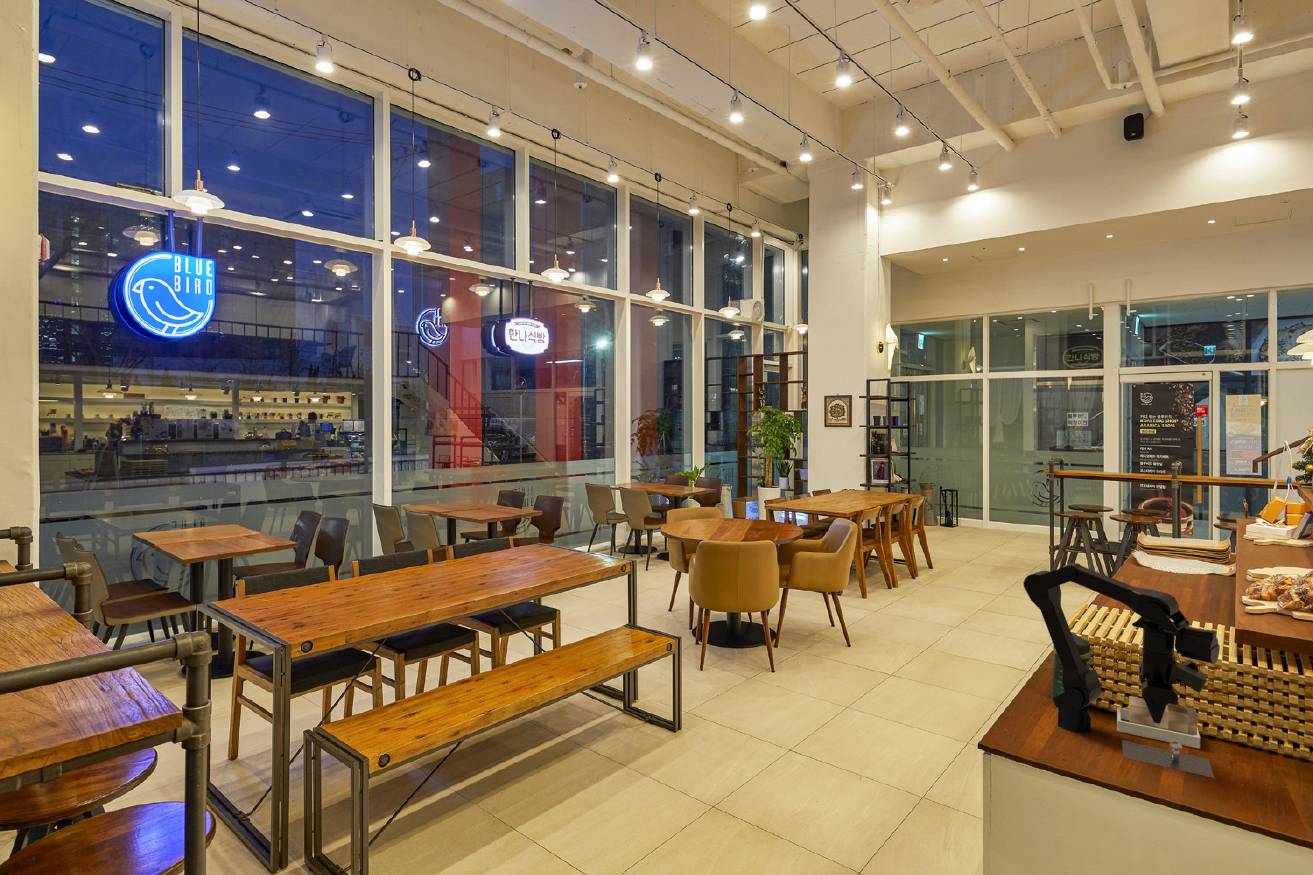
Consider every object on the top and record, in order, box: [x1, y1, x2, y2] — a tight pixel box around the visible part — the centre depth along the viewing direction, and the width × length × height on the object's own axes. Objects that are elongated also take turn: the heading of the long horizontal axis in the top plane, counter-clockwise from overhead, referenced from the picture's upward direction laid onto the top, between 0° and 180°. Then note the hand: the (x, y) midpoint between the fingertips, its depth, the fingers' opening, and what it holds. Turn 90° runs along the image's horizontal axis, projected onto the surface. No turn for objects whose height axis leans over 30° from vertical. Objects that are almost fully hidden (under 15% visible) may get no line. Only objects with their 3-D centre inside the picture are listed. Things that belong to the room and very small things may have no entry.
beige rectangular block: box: [1128, 695, 1199, 735], centre depth 153 cm, size 12×5×4 cm, turn 57°
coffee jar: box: [1051, 634, 1092, 703], centre depth 182 cm, size 10×8×19 cm
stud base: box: [1121, 739, 1215, 779], centre depth 152 cm, size 16×9×5 cm, turn 57°
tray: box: [1116, 706, 1201, 750], centre depth 164 cm, size 16×9×4 cm, turn 57°
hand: (1156, 718), depth 153 cm, fingers closed on beige rectangular block, 5 cm apart
